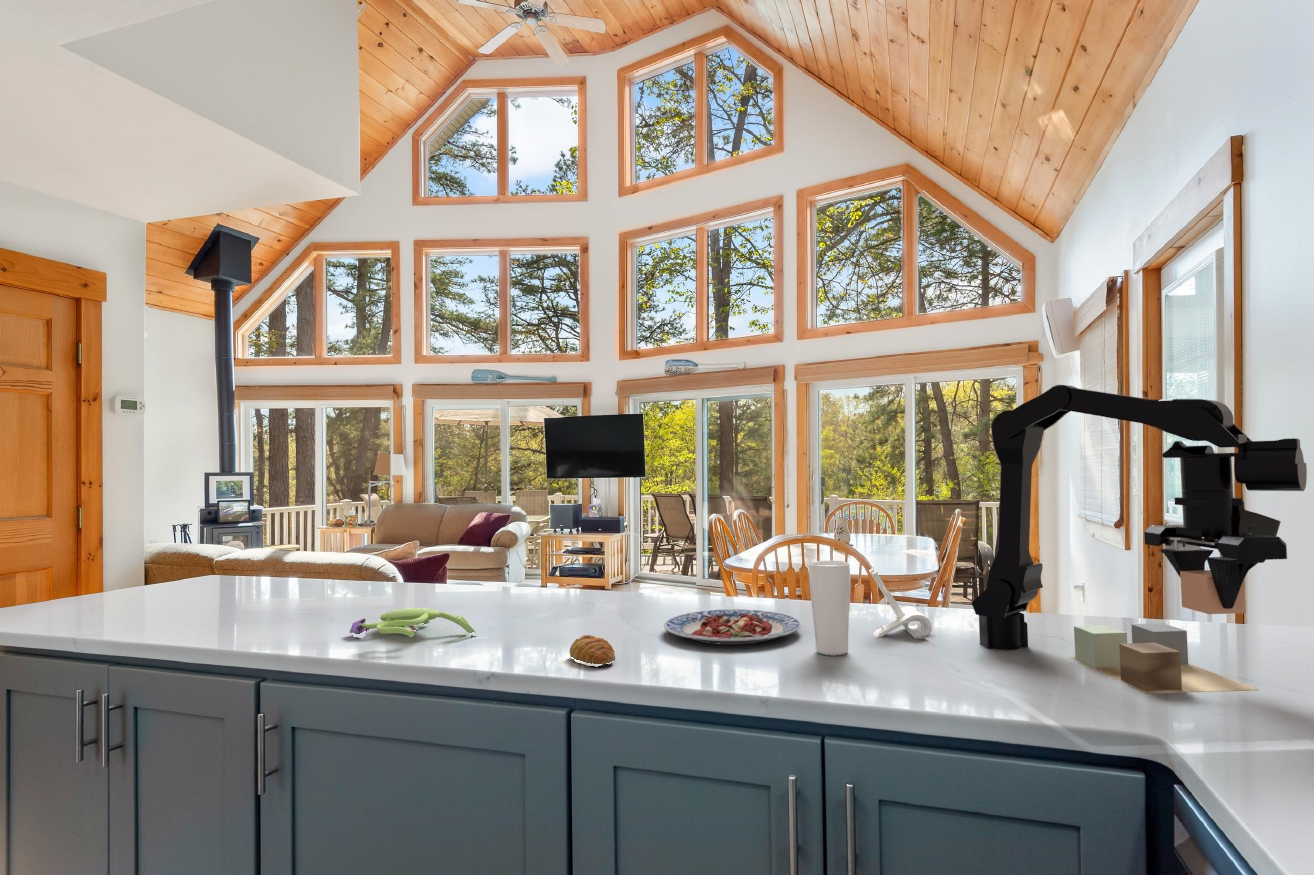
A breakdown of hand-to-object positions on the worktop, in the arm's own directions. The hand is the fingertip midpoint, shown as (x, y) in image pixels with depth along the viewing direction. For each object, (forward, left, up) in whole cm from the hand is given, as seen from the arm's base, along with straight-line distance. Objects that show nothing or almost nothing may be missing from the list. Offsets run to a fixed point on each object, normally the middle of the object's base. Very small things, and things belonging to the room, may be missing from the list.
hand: (1212, 604), depth 102 cm
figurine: (-124, +46, -12) cm, 133 cm away
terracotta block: (0, 0, -1) cm, 1 cm away
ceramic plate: (-62, +41, -12) cm, 75 cm away
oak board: (-5, +6, -11) cm, 14 cm away
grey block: (0, +11, -11) cm, 15 cm away
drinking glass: (-47, +25, -12) cm, 54 cm away
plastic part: (-31, +37, -12) cm, 49 cm away
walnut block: (-9, 0, -11) cm, 14 cm away
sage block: (-9, +11, -11) cm, 18 cm away
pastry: (-87, +25, -12) cm, 91 cm away
